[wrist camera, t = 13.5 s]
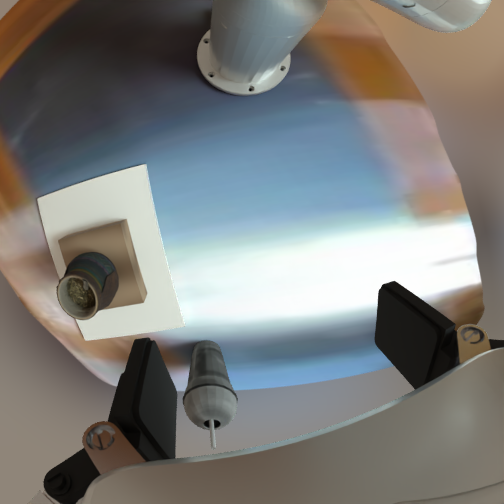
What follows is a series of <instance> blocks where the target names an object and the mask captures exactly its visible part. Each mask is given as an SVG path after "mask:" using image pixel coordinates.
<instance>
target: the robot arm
mask: <svg viewBox="0 0 504 504" xmlns="http://www.w3.org/2000/svg"><path fill="white" fill-rule="evenodd" d="M371 1H374V2H375V3H378V4H380V5H382V6H384V7H386V8H388V9H390V10H392V11H394V12H396V13H398V14H400V15H402V16H403V17H405V18H407V19H409V20H411V21H413V22H415V23H417V24H419V25H421V26H423V27H425V28H428V29H431V30H434V31H438V32H445V33H446V32H457V31H460V30H463V29H466V28H468V27H469V26H471V25H472V24H474V23H475V22H476V21H477V20H478V19H479V18H480V17H481V16H482V15H483V14H484V12H485V11H486V10H487V8H488V6H489V4H490V3H491V1H492V0H371ZM326 6H327V0H213V5H212V17H211V29H210V30H209V31H207V32H206V34H205V35H204V36H203V37H202V39H201V41H200V43H199V46H198V50H197V61H198V66H199V69H200V71H201V73H202V74H203V76H204V77H205V79H206V80H207V81H208V82H209V83H210V84H211V85H213V86H214V87H216V88H217V89H219V90H221V91H224V92H226V93H229V94H233V95H240V96H251V95H257V94H262V93H264V92H266V91H269V90H271V89H272V88H274V87H275V86H276V85H278V84H279V83H280V82H281V81H282V79H283V78H284V77H285V76H286V74H287V72H288V70H289V66H290V52H291V51H292V50H293V48H294V47H295V46H296V45H297V44H298V43H299V41H300V40H301V39H302V38H303V37H304V36H305V35H306V33H307V32H308V31H309V30H310V29H311V28H312V27H313V26H314V25H315V23H316V22H317V21H318V20H319V19H320V18H321V16H322V15H323V13H324V11H325V8H326ZM205 42H208V43H205ZM280 69H282V70H283V71H281V70H280ZM210 75H213V77H212V78H211V77H210ZM248 89H252V91H249V90H248ZM455 325H456V324H455V323H453V322H452V321H451V320H449V319H448V318H447V317H445V316H444V315H442V314H441V313H440V312H438V311H437V310H436V309H434V308H433V307H431V306H430V305H429V304H427V303H426V302H424V301H423V300H422V299H420V298H419V297H417V296H416V295H414V294H413V293H412V292H410V291H409V290H407V289H406V288H404V287H403V286H401V285H400V284H399V283H397V282H395V281H392V282H389V283H386V284H383V285H382V287H381V289H379V293H378V308H377V320H376V331H375V343H376V345H377V347H378V348H379V349H380V350H381V351H382V352H383V354H384V355H385V356H386V357H387V358H388V359H389V360H390V361H391V363H392V364H393V365H394V366H395V367H396V368H397V369H398V370H399V371H400V373H401V374H402V375H403V376H404V377H405V378H406V380H407V381H408V382H409V383H410V384H411V385H412V386H413V387H414V389H415V390H414V391H412V392H410V393H408V394H406V395H404V396H402V397H400V398H398V399H396V400H394V401H392V402H390V403H387V404H385V405H383V406H381V407H379V408H376V409H374V410H372V411H369V412H367V413H365V414H362V415H360V416H357V417H355V418H352V419H350V420H347V421H344V422H341V423H339V424H336V425H333V426H330V427H327V428H324V429H322V430H318V431H315V432H312V433H308V434H305V435H302V436H298V437H295V438H291V439H287V440H284V441H279V442H275V443H272V444H267V445H262V446H258V447H253V448H248V449H243V450H238V451H231V452H225V453H219V454H212V455H204V456H196V457H187V458H177V459H175V442H176V441H175V440H176V408H177V391H176V388H175V386H174V383H173V381H172V379H171V377H170V375H169V372H168V370H167V368H166V366H165V363H164V361H163V359H162V356H161V354H160V351H159V349H158V347H157V344H156V342H155V341H154V340H153V341H151V340H150V338H142V339H136V340H135V341H134V343H133V346H132V349H131V353H130V356H129V359H128V362H127V365H126V369H125V372H124V373H122V374H121V376H120V379H119V382H118V386H117V389H116V393H115V396H114V400H113V403H112V407H111V411H110V414H109V418H108V422H105V421H102V422H97V423H95V424H93V425H91V426H90V427H89V428H88V429H87V430H86V431H85V432H84V435H83V440H82V443H83V446H84V448H83V449H82V450H80V451H79V452H77V453H76V454H74V455H73V456H71V457H70V458H68V459H67V460H65V461H64V462H62V463H60V464H59V465H57V466H56V467H54V468H53V469H51V470H50V471H49V472H48V473H47V474H46V476H45V479H44V488H45V490H44V492H41V491H39V492H38V493H37V494H36V495H35V496H34V497H33V498H32V500H31V501H30V502H29V503H28V504H504V340H492V339H488V335H487V333H486V331H484V329H482V328H481V327H479V326H477V325H472V324H468V325H463V326H461V327H460V328H459V329H458V331H455V330H454V329H455Z"/></svg>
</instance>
